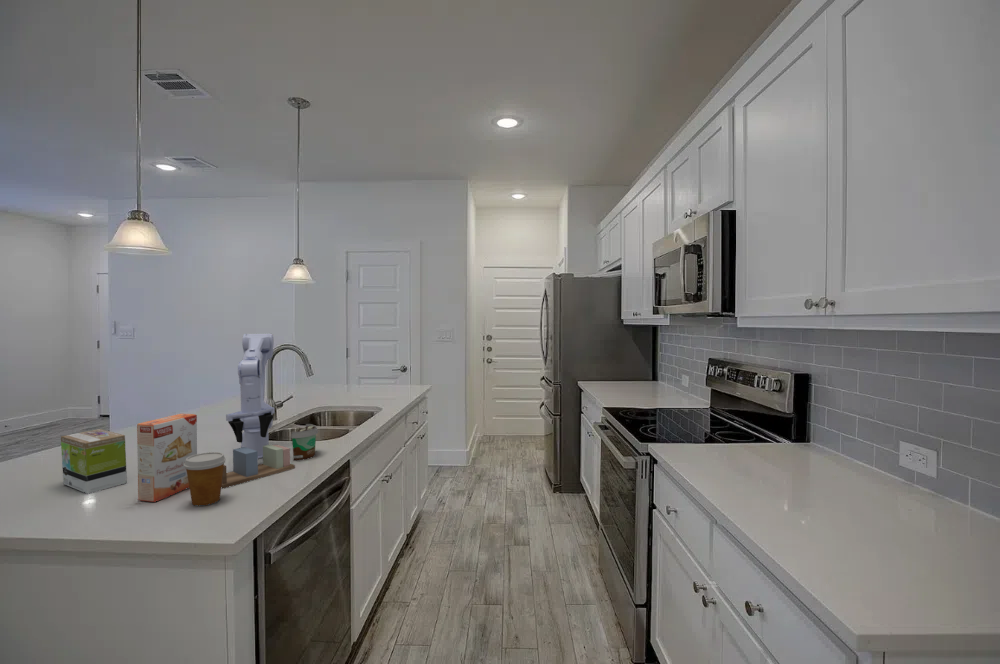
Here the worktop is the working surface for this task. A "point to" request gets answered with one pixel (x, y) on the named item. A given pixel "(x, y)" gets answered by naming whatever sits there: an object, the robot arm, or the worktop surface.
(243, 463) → the grey rectangular block
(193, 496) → the disposable coffee cup
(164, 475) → the cracker box
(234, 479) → the shelf
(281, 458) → the book row
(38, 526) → the worktop surface
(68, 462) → the tea box
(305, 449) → the food container
